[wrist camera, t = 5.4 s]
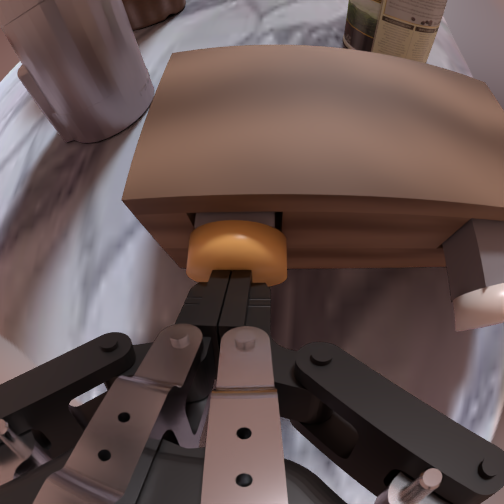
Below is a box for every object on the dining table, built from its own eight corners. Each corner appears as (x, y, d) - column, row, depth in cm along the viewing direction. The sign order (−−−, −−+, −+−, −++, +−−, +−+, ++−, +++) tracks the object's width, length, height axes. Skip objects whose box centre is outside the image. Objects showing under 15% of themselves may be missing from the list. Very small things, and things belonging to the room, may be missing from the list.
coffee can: (326, 44, 26) (335, -66, 12) (363, 24, 28) (376, -62, 15) (411, 86, 23) (448, -29, 10) (434, 58, 25) (462, -29, 12)
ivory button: (493, 325, 12) (540, 310, 8) (441, 334, 12) (489, 321, 8) (474, 219, 14) (510, 186, 10) (424, 216, 14) (457, 176, 11)
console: (477, 265, 16) (551, 214, 9) (180, 268, 17) (121, 199, 10) (444, 150, 20) (484, 82, 12) (198, 139, 21) (172, 53, 14)
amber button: (285, 289, 14) (290, 260, 10) (198, 288, 14) (173, 260, 10) (282, 171, 16) (284, 120, 12) (209, 173, 16) (194, 123, 12)
